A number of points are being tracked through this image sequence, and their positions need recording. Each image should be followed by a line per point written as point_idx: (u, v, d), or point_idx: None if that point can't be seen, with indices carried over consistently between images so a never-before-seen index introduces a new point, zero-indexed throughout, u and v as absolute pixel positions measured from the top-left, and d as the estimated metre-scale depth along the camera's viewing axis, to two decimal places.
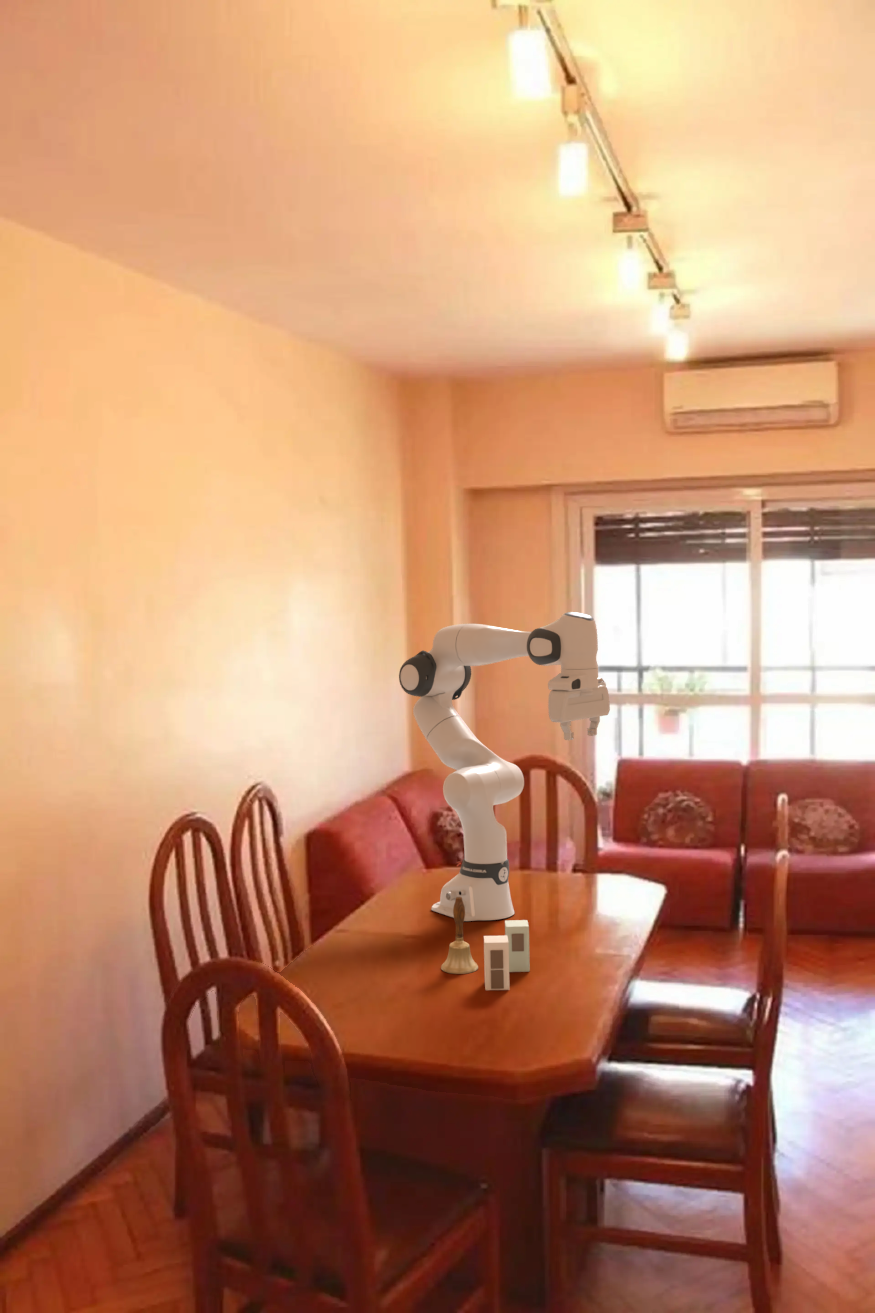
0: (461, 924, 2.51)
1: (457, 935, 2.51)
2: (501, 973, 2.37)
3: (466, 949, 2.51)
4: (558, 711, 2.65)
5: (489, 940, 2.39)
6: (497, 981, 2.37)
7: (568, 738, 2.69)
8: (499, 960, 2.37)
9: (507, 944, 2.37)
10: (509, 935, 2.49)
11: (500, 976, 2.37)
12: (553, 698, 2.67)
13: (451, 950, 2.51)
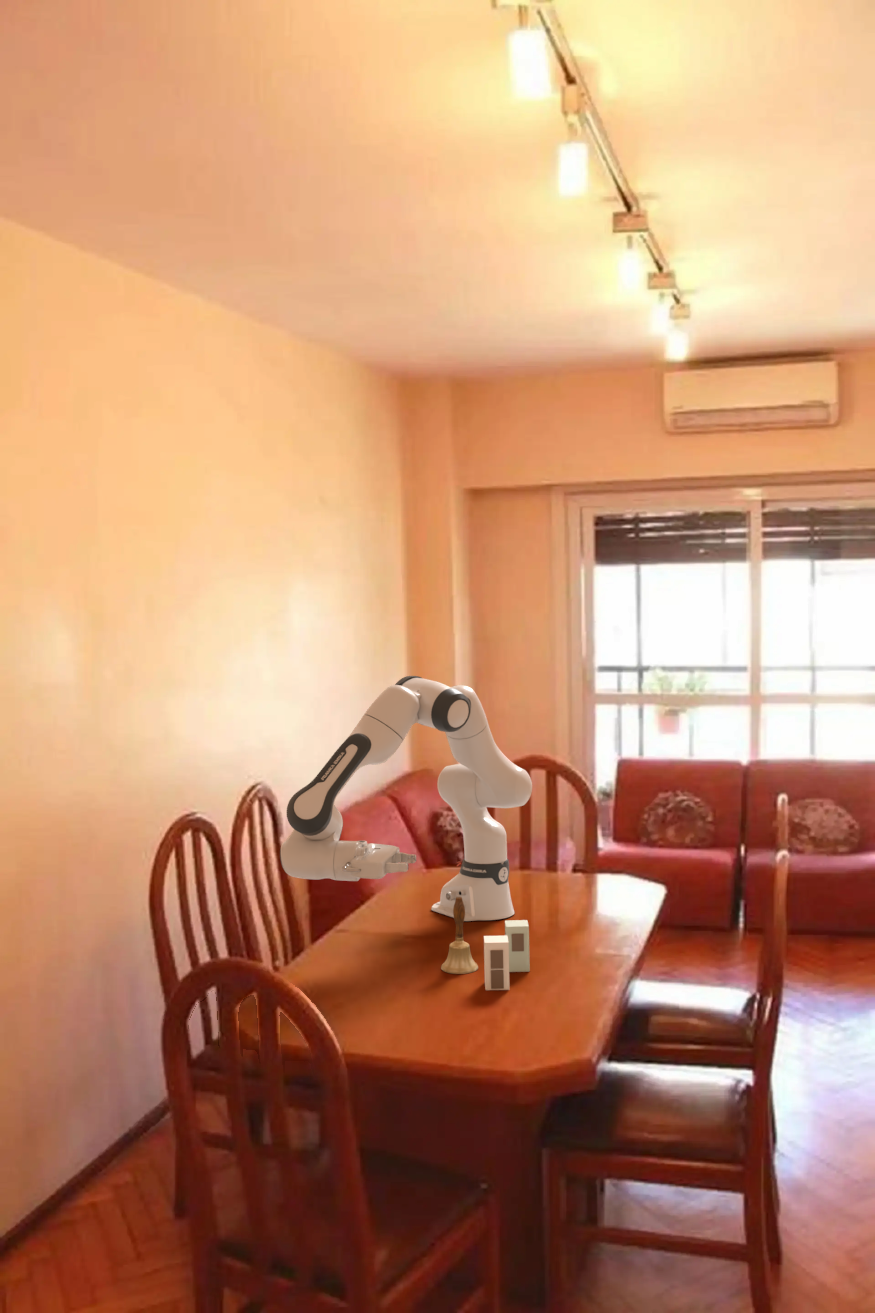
0: (461, 924, 2.51)
1: (457, 935, 2.51)
2: (501, 973, 2.37)
3: (466, 949, 2.51)
4: None
5: (489, 940, 2.39)
6: (497, 981, 2.37)
7: None
8: (499, 960, 2.37)
9: (507, 944, 2.37)
10: (509, 935, 2.49)
11: (500, 976, 2.37)
12: None
13: (451, 950, 2.51)
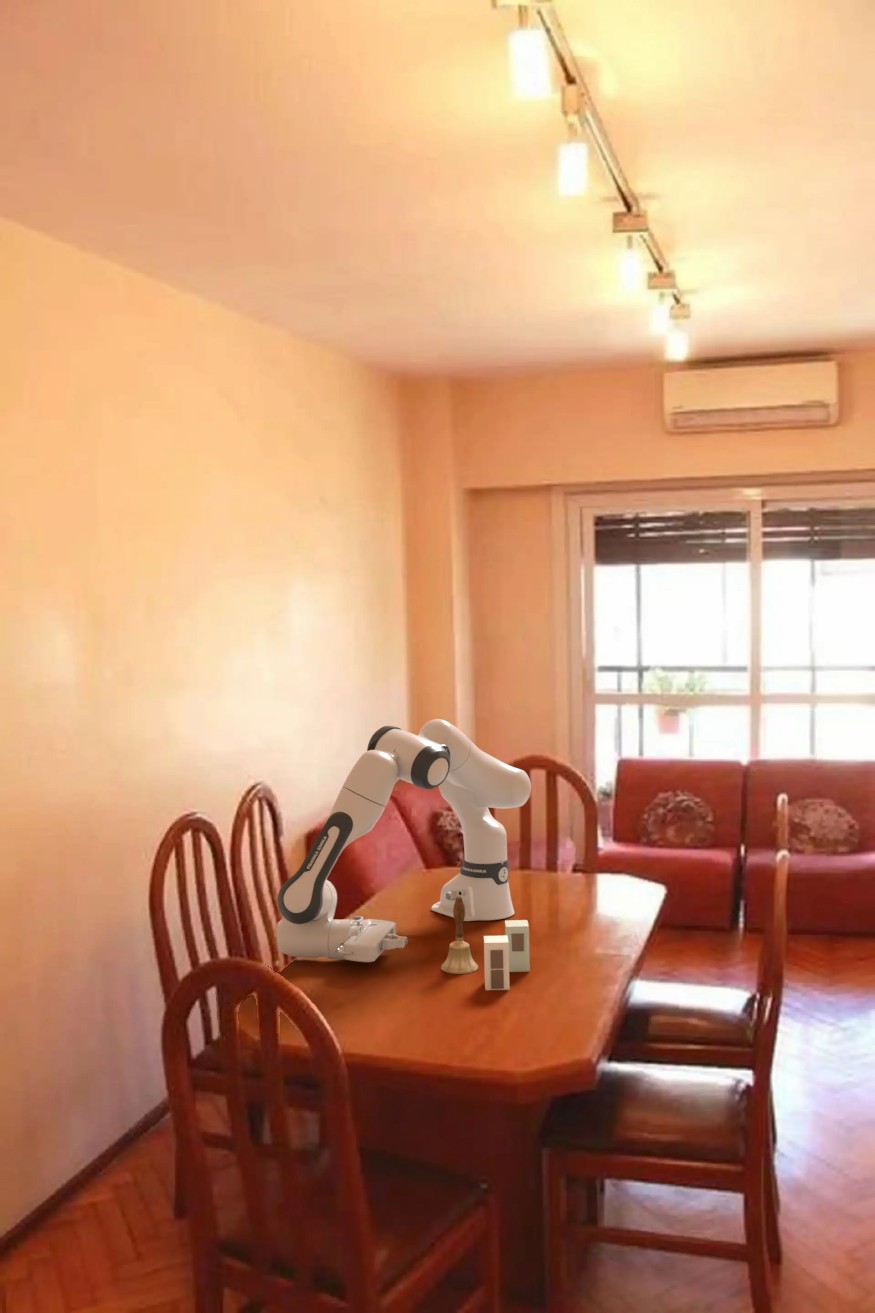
0: (461, 924, 2.51)
1: (457, 935, 2.51)
2: (501, 973, 2.37)
3: (466, 949, 2.51)
4: None
5: (489, 940, 2.39)
6: (497, 981, 2.37)
7: None
8: (499, 960, 2.37)
9: (507, 944, 2.37)
10: (509, 935, 2.49)
11: (500, 976, 2.37)
12: None
13: (451, 950, 2.51)
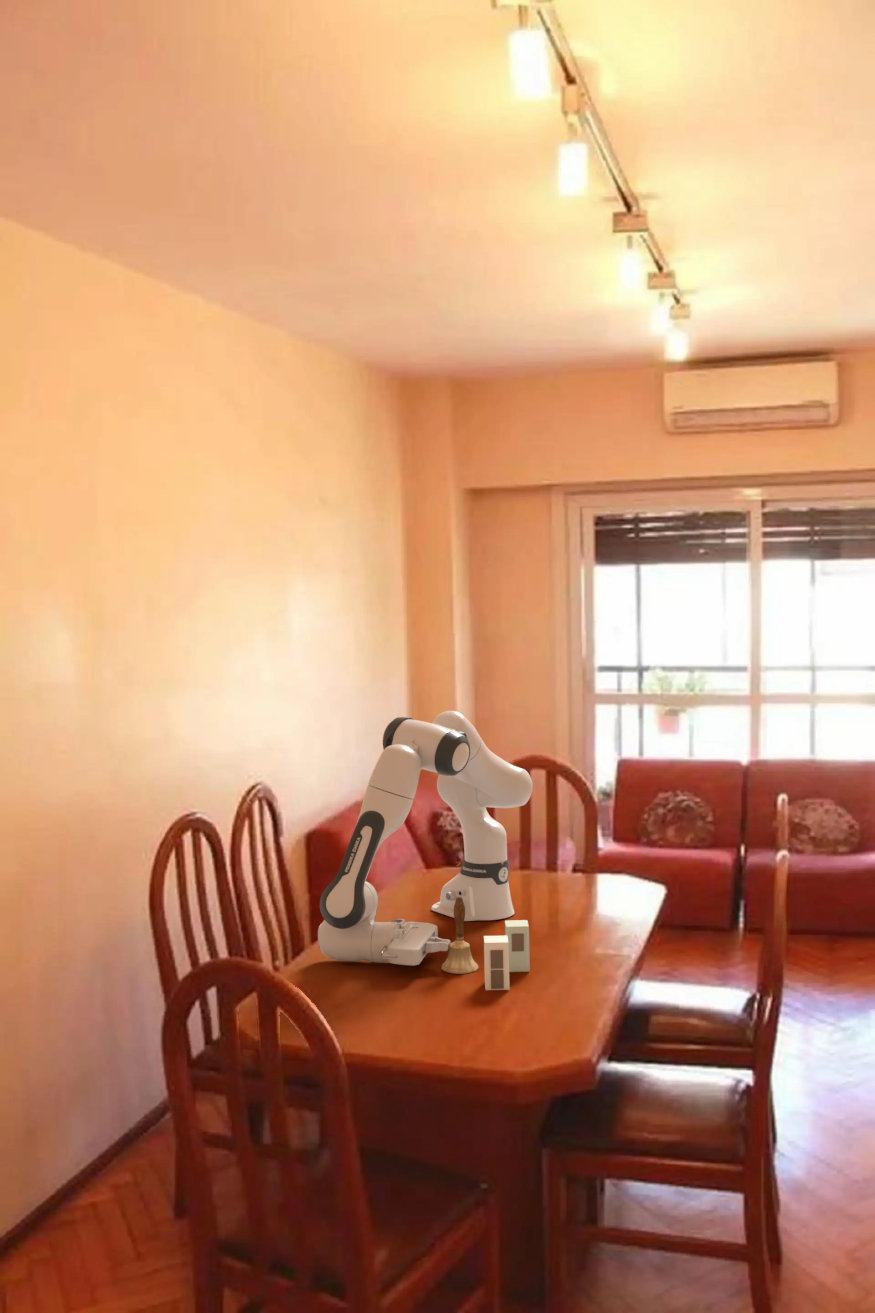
0: (461, 924, 2.51)
1: (457, 935, 2.51)
2: (501, 973, 2.37)
3: (466, 948, 2.51)
4: None
5: (489, 940, 2.39)
6: (497, 981, 2.37)
7: None
8: (499, 960, 2.37)
9: (507, 944, 2.37)
10: (509, 935, 2.49)
11: (500, 976, 2.37)
12: None
13: (452, 950, 2.51)
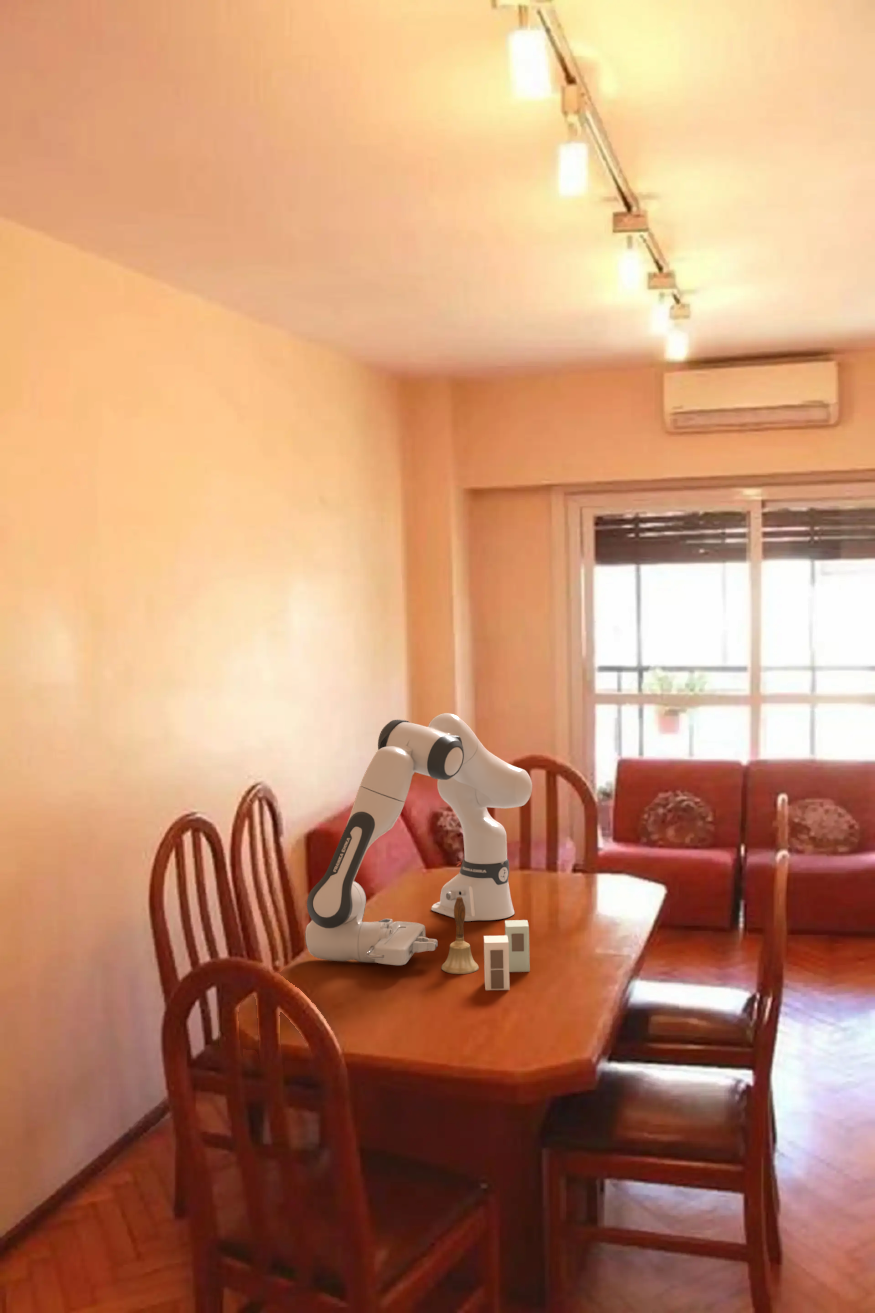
0: (462, 924, 2.51)
1: (458, 935, 2.51)
2: (501, 973, 2.37)
3: (467, 949, 2.51)
4: None
5: (489, 940, 2.39)
6: (497, 981, 2.37)
7: None
8: (499, 960, 2.37)
9: (507, 944, 2.37)
10: (509, 935, 2.49)
11: (500, 976, 2.37)
12: None
13: (452, 950, 2.51)
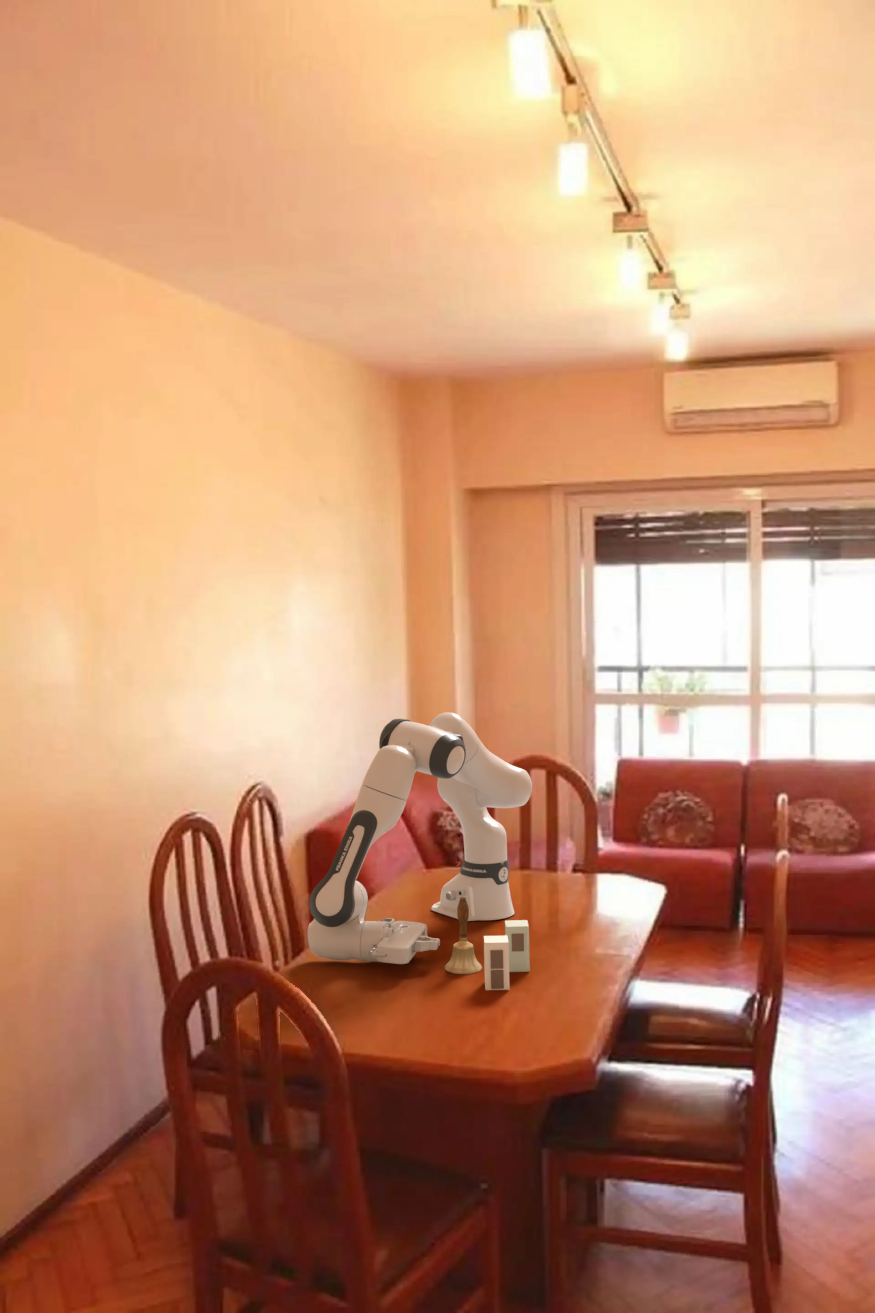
0: (465, 924, 2.51)
1: (461, 935, 2.51)
2: (501, 973, 2.37)
3: (470, 949, 2.50)
4: None
5: (489, 940, 2.39)
6: (497, 981, 2.37)
7: None
8: (499, 960, 2.37)
9: (507, 944, 2.37)
10: (509, 935, 2.49)
11: (500, 976, 2.37)
12: None
13: (455, 950, 2.50)
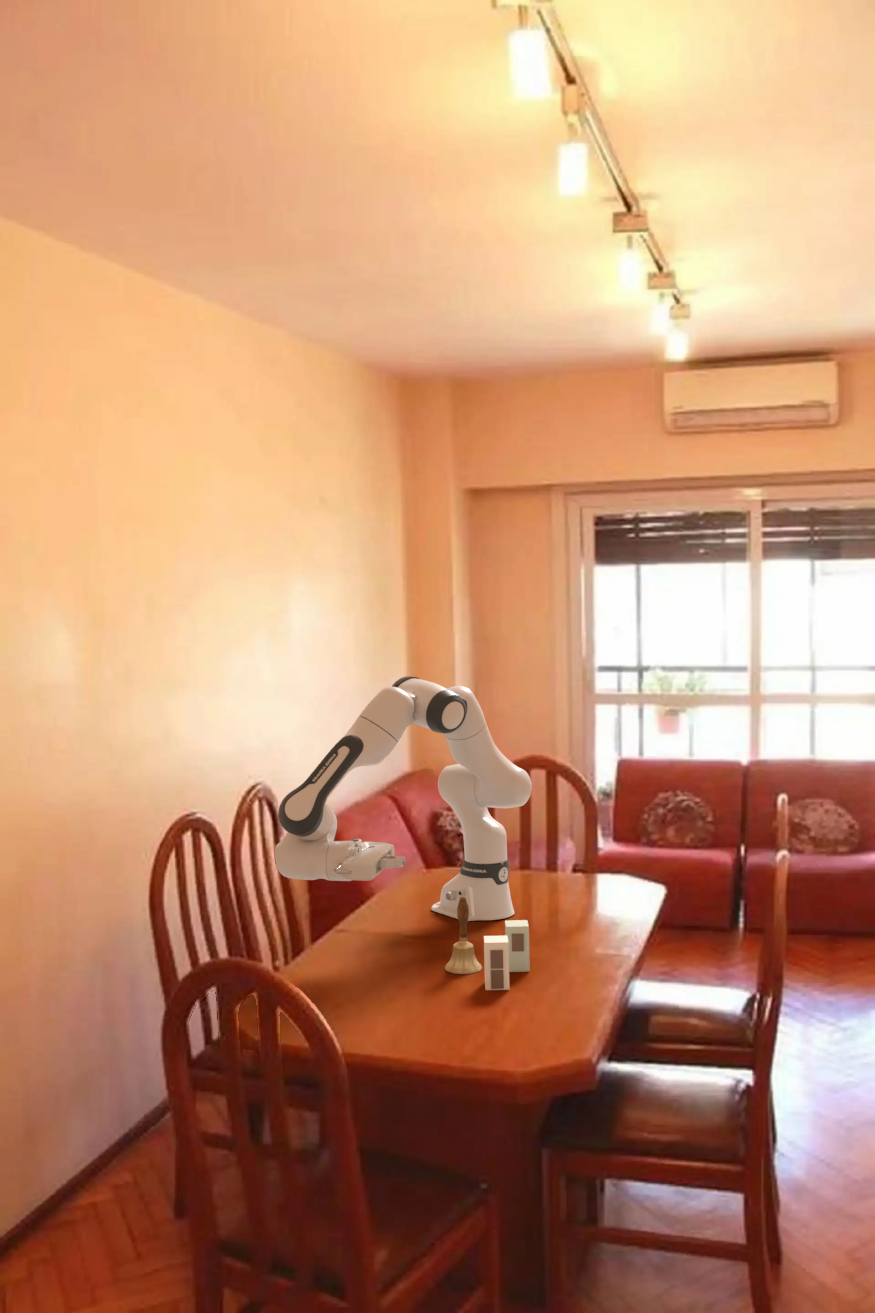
0: (465, 924, 2.51)
1: (461, 935, 2.51)
2: (501, 973, 2.37)
3: (470, 949, 2.50)
4: None
5: (489, 940, 2.39)
6: (497, 981, 2.37)
7: None
8: (499, 960, 2.37)
9: (507, 944, 2.37)
10: (509, 935, 2.49)
11: (500, 976, 2.37)
12: None
13: (455, 950, 2.50)
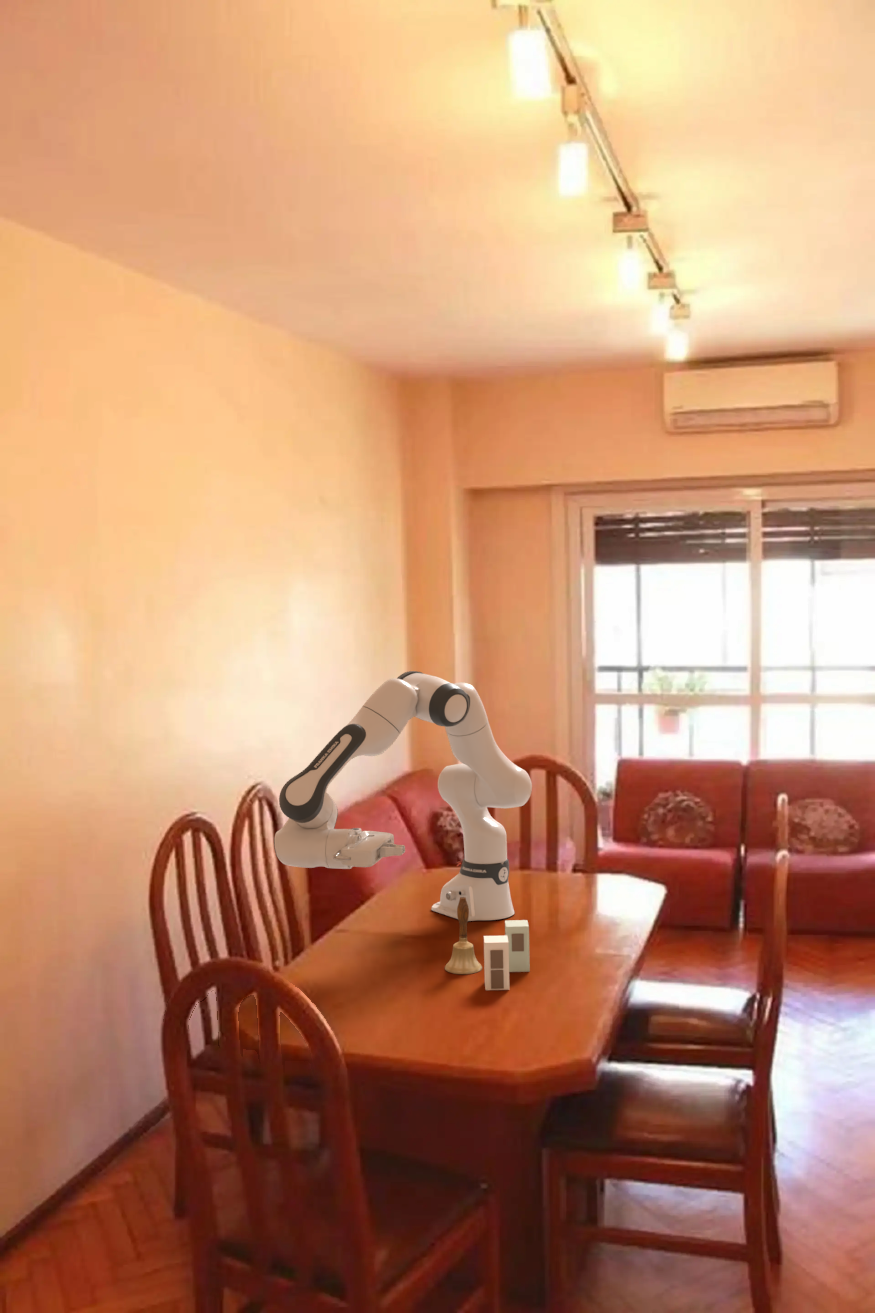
0: (465, 924, 2.51)
1: (461, 935, 2.51)
2: (501, 973, 2.37)
3: (470, 949, 2.50)
4: None
5: (489, 940, 2.39)
6: (497, 981, 2.37)
7: None
8: (499, 960, 2.37)
9: (507, 944, 2.37)
10: (509, 935, 2.49)
11: (500, 976, 2.37)
12: None
13: (455, 950, 2.50)
